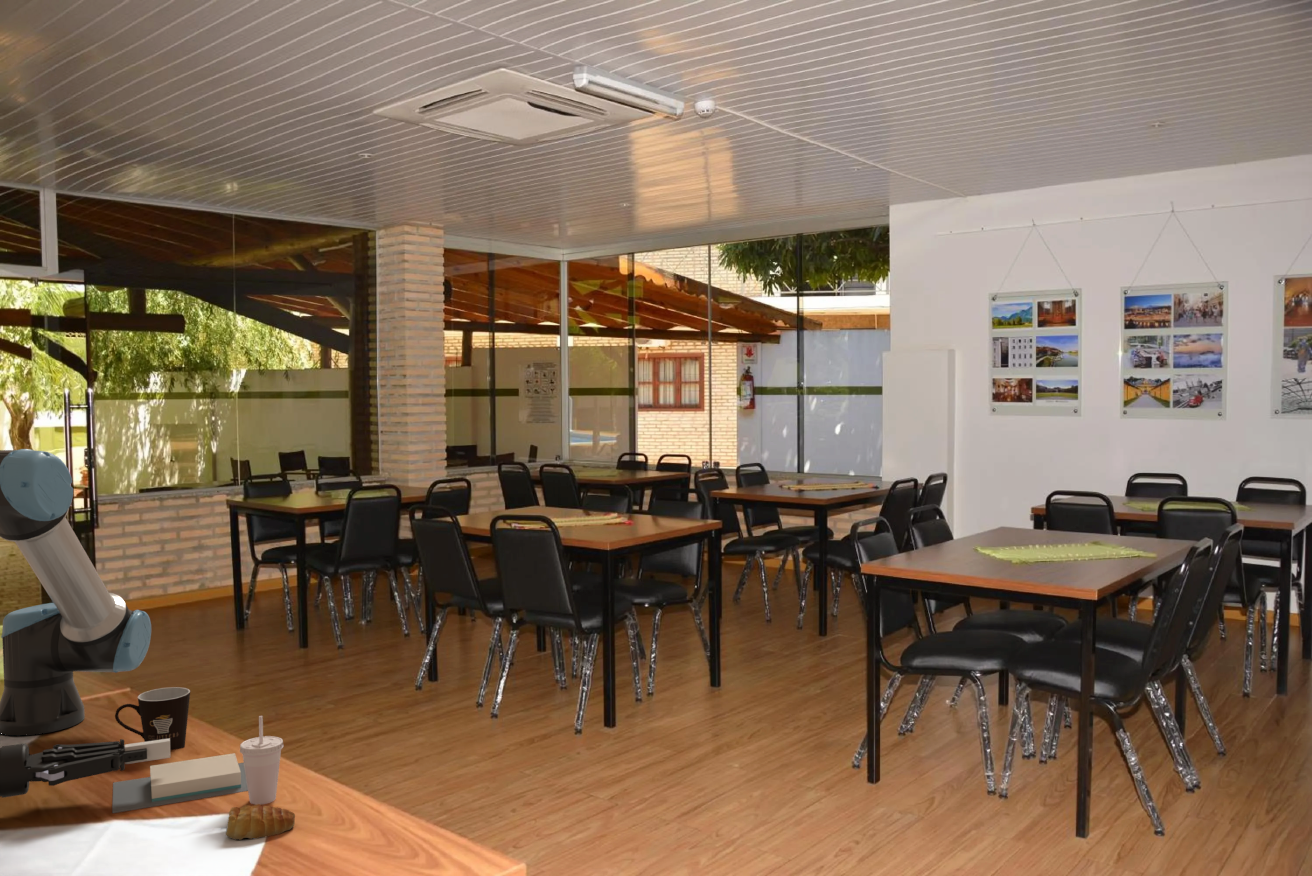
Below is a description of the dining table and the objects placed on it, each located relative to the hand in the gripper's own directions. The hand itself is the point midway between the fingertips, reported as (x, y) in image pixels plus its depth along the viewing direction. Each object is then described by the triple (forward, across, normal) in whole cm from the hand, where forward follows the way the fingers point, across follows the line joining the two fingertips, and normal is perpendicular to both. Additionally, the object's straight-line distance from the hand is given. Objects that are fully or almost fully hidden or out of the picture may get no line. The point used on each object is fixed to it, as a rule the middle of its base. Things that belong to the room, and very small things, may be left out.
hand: (170, 748), depth 168 cm
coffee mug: (-1, -24, -7) cm, 25 cm away
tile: (-3, 0, -5) cm, 6 cm away
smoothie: (+13, +12, -7) cm, 19 cm away
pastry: (+11, +22, -8) cm, 26 cm away
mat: (+2, 0, -7) cm, 7 cm away
